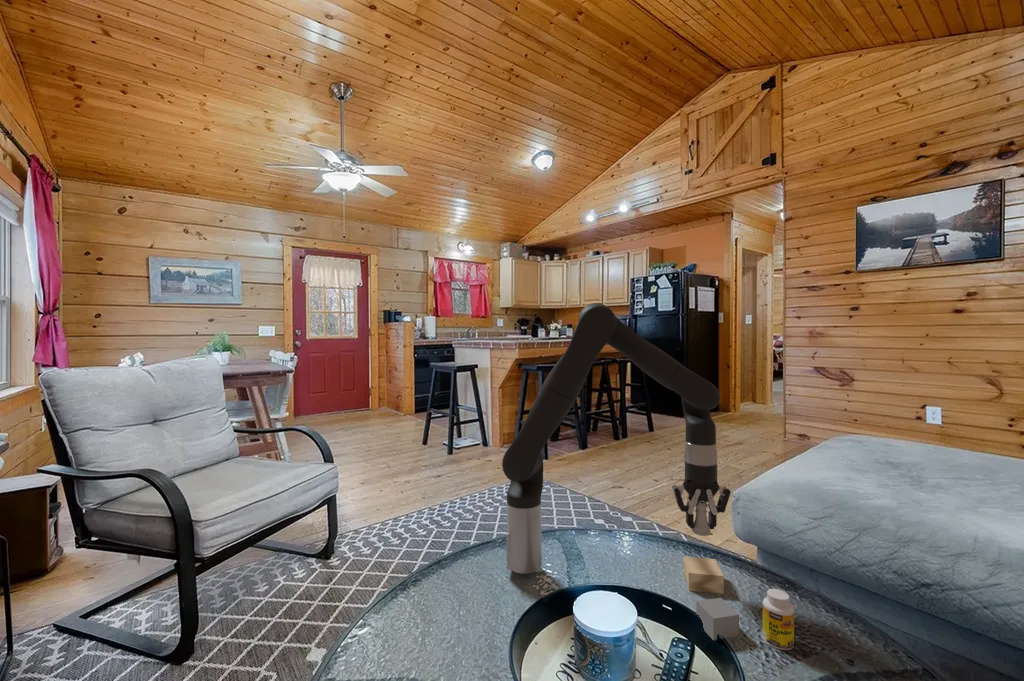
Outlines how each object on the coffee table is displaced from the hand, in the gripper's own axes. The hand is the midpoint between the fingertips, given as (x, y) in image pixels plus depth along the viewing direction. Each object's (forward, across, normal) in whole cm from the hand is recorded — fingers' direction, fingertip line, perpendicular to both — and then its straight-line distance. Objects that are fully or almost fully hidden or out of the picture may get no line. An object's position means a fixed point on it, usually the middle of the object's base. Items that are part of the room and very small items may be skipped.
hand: (701, 527), depth 112 cm
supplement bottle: (+15, +9, -20) cm, 27 cm away
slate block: (+15, -2, -17) cm, 23 cm away
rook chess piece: (+1, 0, 0) cm, 1 cm away
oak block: (+15, 0, 0) cm, 15 cm away
